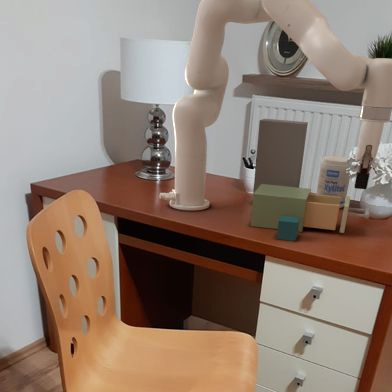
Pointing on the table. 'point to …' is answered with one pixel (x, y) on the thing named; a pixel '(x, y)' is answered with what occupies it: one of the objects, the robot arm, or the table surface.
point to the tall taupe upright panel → (280, 153)
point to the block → (288, 228)
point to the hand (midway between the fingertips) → (360, 188)
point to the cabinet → (278, 205)
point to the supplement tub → (334, 178)
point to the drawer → (328, 212)
